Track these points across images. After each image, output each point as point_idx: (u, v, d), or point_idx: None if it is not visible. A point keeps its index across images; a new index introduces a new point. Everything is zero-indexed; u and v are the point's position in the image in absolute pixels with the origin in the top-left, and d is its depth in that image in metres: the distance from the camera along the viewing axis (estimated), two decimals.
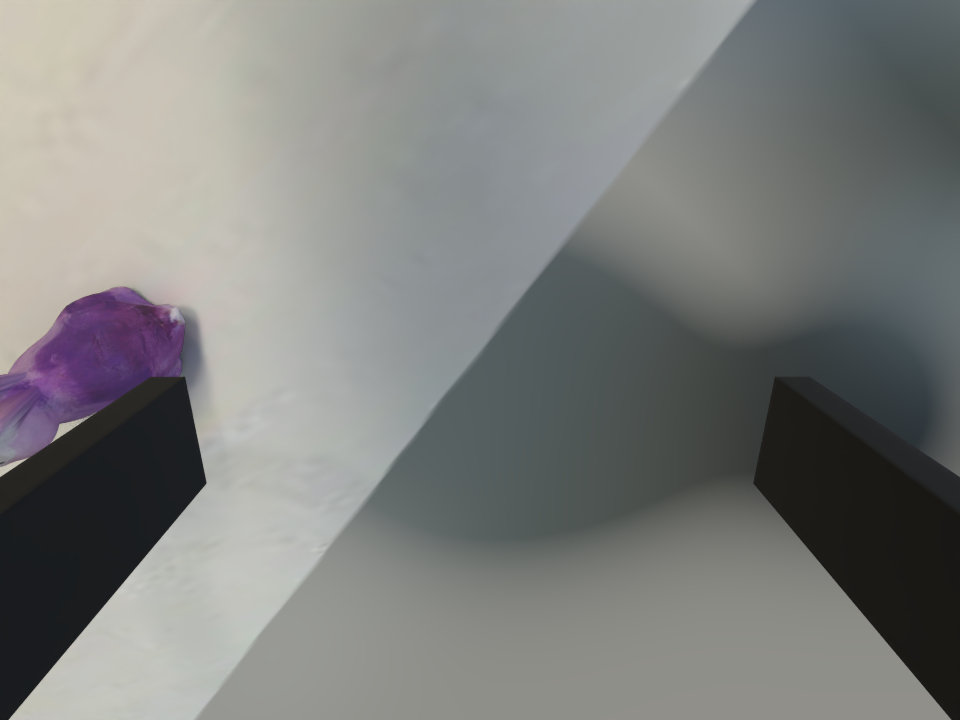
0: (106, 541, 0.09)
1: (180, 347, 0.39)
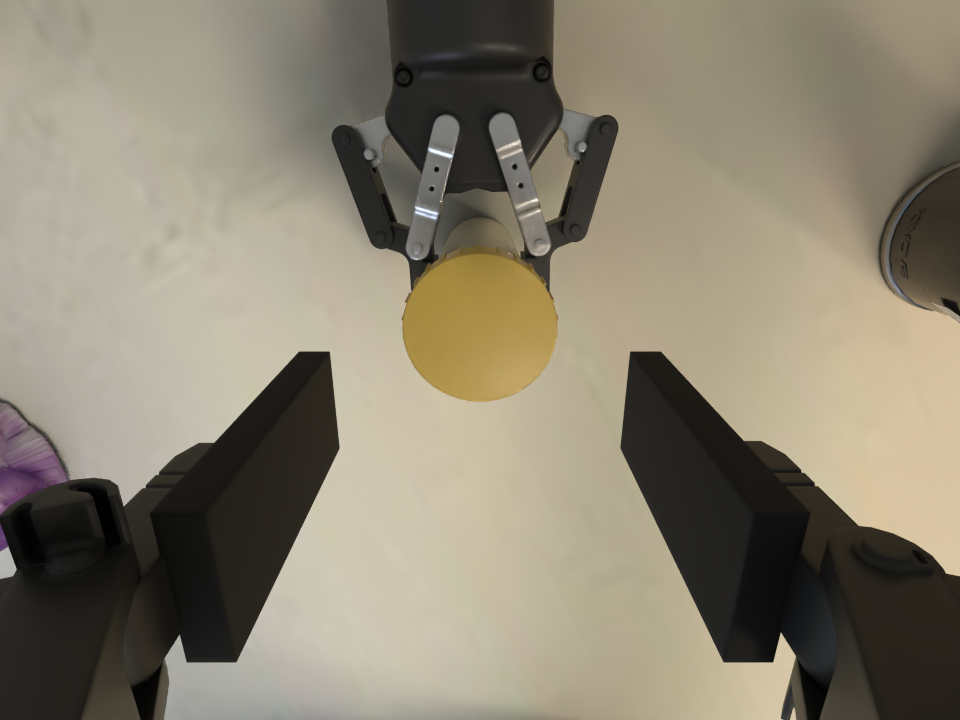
0: (295, 487, 0.11)
1: None
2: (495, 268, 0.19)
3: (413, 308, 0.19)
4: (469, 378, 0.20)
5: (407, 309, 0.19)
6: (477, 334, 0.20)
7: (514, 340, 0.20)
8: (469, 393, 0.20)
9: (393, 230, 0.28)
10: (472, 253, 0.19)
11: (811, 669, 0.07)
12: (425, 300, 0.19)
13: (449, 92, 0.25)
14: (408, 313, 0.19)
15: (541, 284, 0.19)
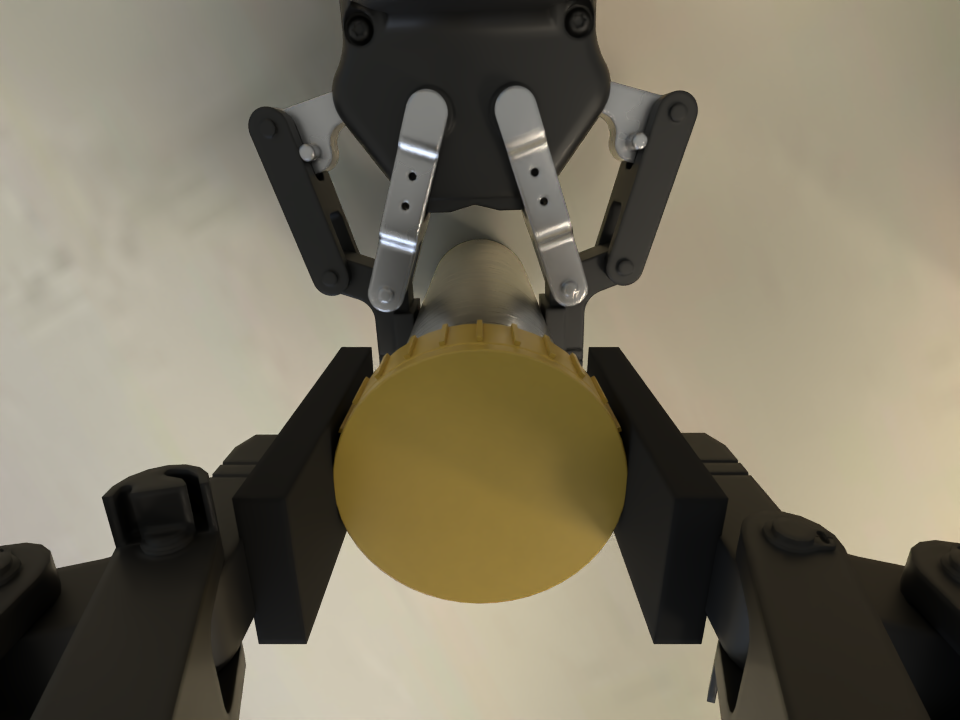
0: None
1: None
2: (511, 377, 0.09)
3: (352, 449, 0.10)
4: (461, 567, 0.11)
5: (340, 451, 0.10)
6: (475, 494, 0.10)
7: (545, 504, 0.10)
8: (461, 590, 0.11)
9: (349, 267, 0.18)
10: (465, 348, 0.09)
11: (731, 651, 0.08)
12: (374, 435, 0.10)
13: (431, 54, 0.16)
14: (342, 457, 0.10)
15: (601, 406, 0.10)
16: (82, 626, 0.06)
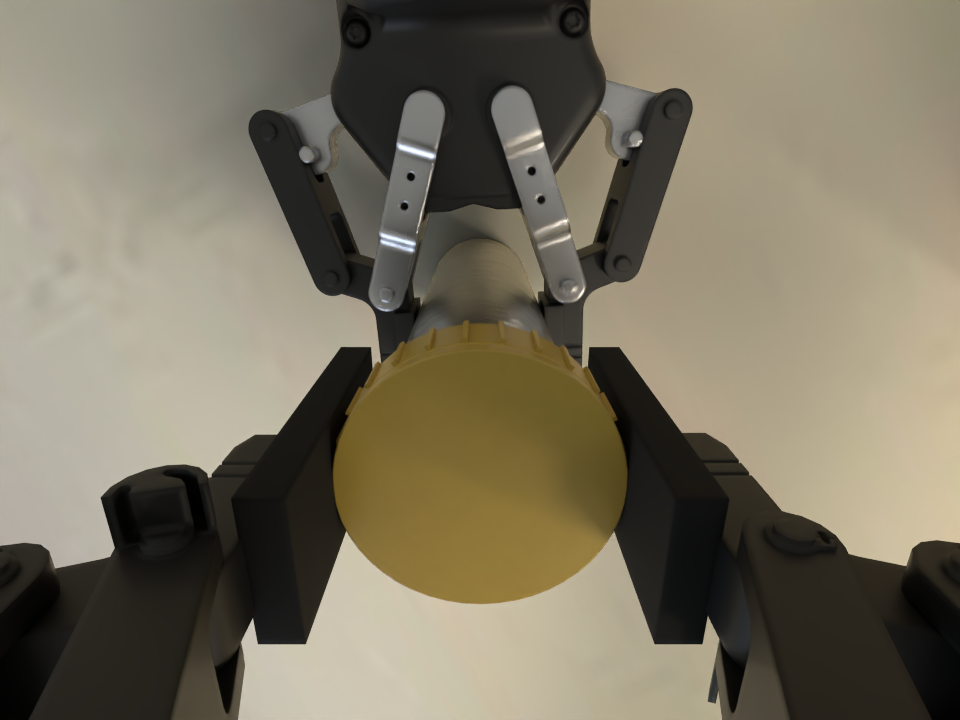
0: None
1: None
2: (390, 554, 0.11)
3: (549, 576, 0.11)
4: (557, 430, 0.10)
5: (558, 582, 0.11)
6: (487, 487, 0.10)
7: (435, 441, 0.10)
8: (579, 405, 0.10)
9: (350, 267, 0.18)
10: None
11: (732, 651, 0.08)
12: (523, 576, 0.11)
13: (428, 56, 0.16)
14: (562, 575, 0.11)
15: (335, 494, 0.10)
16: (81, 626, 0.06)
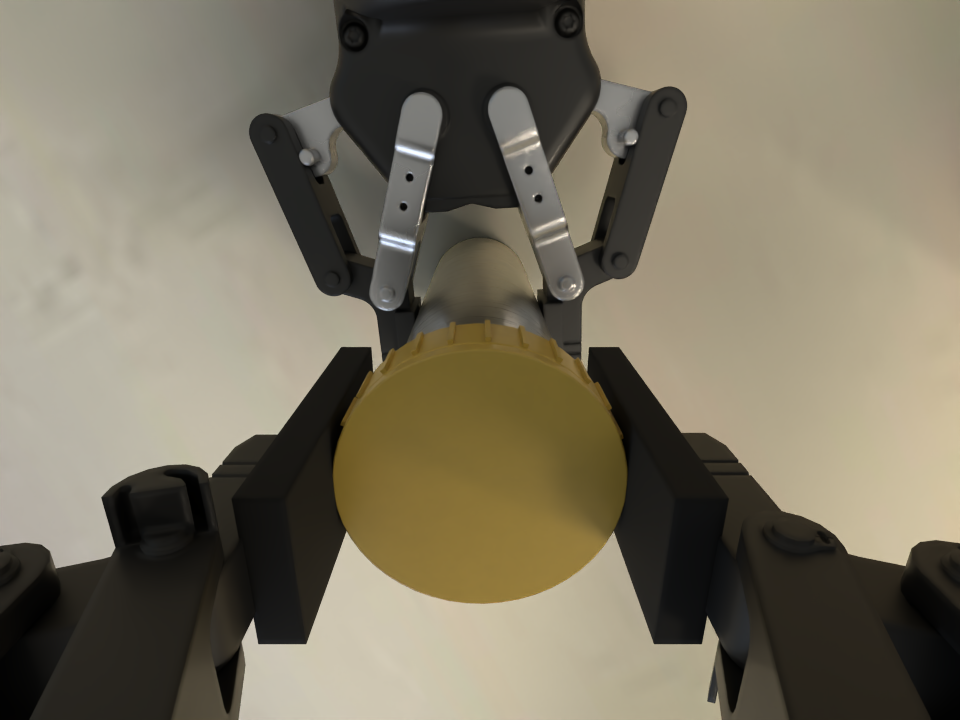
0: None
1: None
2: (604, 481, 0.10)
3: (485, 365, 0.09)
4: (381, 497, 0.10)
5: (480, 355, 0.09)
6: (472, 486, 0.10)
7: (482, 545, 0.11)
8: (351, 505, 0.10)
9: (351, 268, 0.19)
10: (619, 435, 0.10)
11: (731, 652, 0.08)
12: (509, 382, 0.09)
13: (425, 58, 0.16)
14: (472, 358, 0.09)
15: (594, 555, 0.11)
16: (81, 626, 0.06)
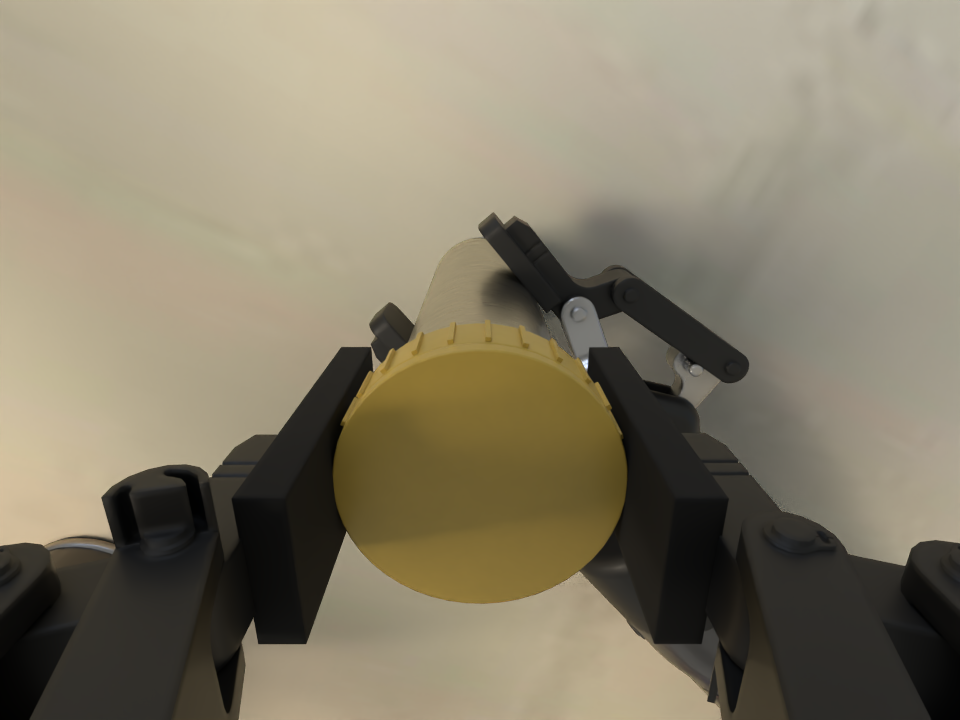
0: None
1: None
2: (603, 481, 0.10)
3: (485, 365, 0.09)
4: (381, 497, 0.10)
5: (480, 355, 0.09)
6: (472, 486, 0.10)
7: (482, 545, 0.11)
8: (351, 504, 0.10)
9: (618, 308, 0.19)
10: (619, 435, 0.10)
11: (731, 652, 0.08)
12: (509, 383, 0.09)
13: None
14: (472, 358, 0.09)
15: (594, 555, 0.11)
16: (81, 626, 0.06)
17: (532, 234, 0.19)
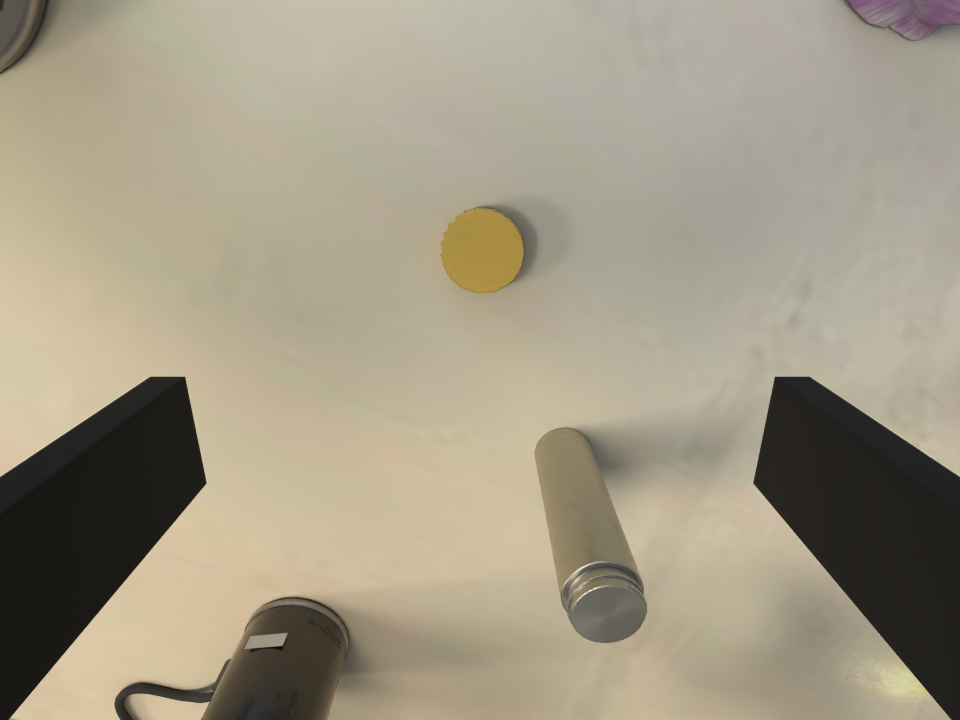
0: (106, 541, 0.09)
1: None
2: (517, 250, 0.37)
3: (484, 214, 0.36)
4: (455, 255, 0.37)
5: (482, 211, 0.36)
6: (480, 252, 0.37)
7: (483, 271, 0.37)
8: (446, 258, 0.37)
9: None
10: (520, 236, 0.36)
11: None
12: (490, 219, 0.36)
13: None
14: (480, 212, 0.36)
15: (515, 275, 0.37)
16: None
17: None
